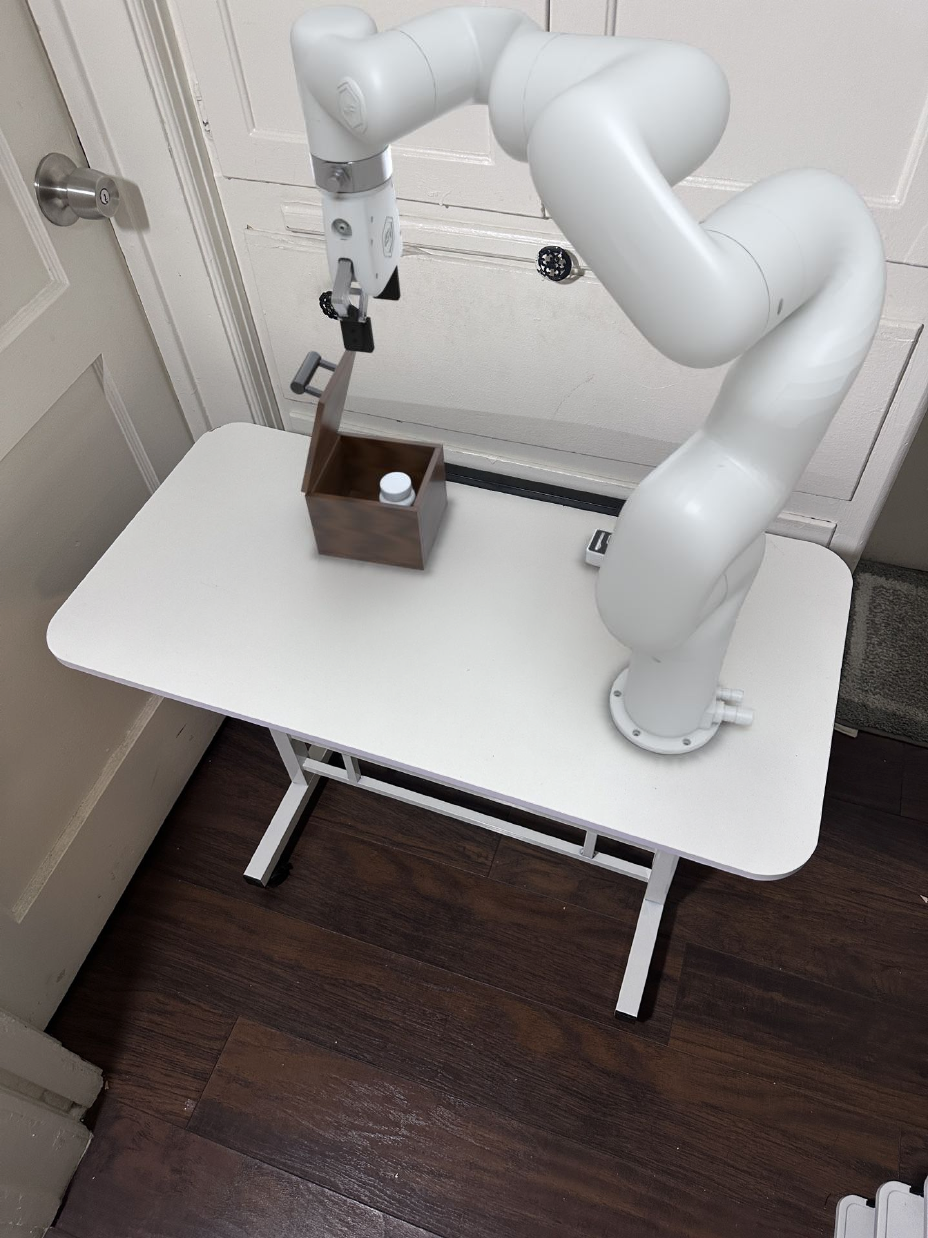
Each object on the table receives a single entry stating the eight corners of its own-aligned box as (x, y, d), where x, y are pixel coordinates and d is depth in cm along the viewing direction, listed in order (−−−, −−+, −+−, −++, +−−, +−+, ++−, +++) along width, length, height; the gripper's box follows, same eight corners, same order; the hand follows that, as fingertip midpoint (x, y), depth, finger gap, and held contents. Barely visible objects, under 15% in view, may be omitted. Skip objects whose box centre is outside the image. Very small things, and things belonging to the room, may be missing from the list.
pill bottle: (388, 544, 122) (380, 499, 116) (381, 520, 125) (373, 474, 119) (422, 536, 123) (417, 491, 116) (414, 512, 126) (409, 466, 119)
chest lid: (359, 337, 109) (319, 321, 109) (324, 403, 102) (282, 387, 101) (339, 428, 121) (303, 414, 121) (306, 494, 114) (268, 479, 114)
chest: (447, 504, 128) (443, 444, 119) (423, 570, 120) (417, 511, 112) (348, 489, 130) (336, 430, 122) (318, 554, 123) (304, 495, 114)
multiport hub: (693, 593, 116) (696, 581, 114) (584, 562, 120) (585, 550, 118) (702, 569, 118) (705, 556, 116) (595, 539, 122) (596, 527, 120)
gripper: (361, 213, 80) (383, 376, 94) (415, 125, 91) (427, 282, 104) (281, 206, 82) (314, 367, 95) (342, 120, 92) (364, 276, 105)
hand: (373, 323), depth 99 cm, fingers open, 9 cm apart
